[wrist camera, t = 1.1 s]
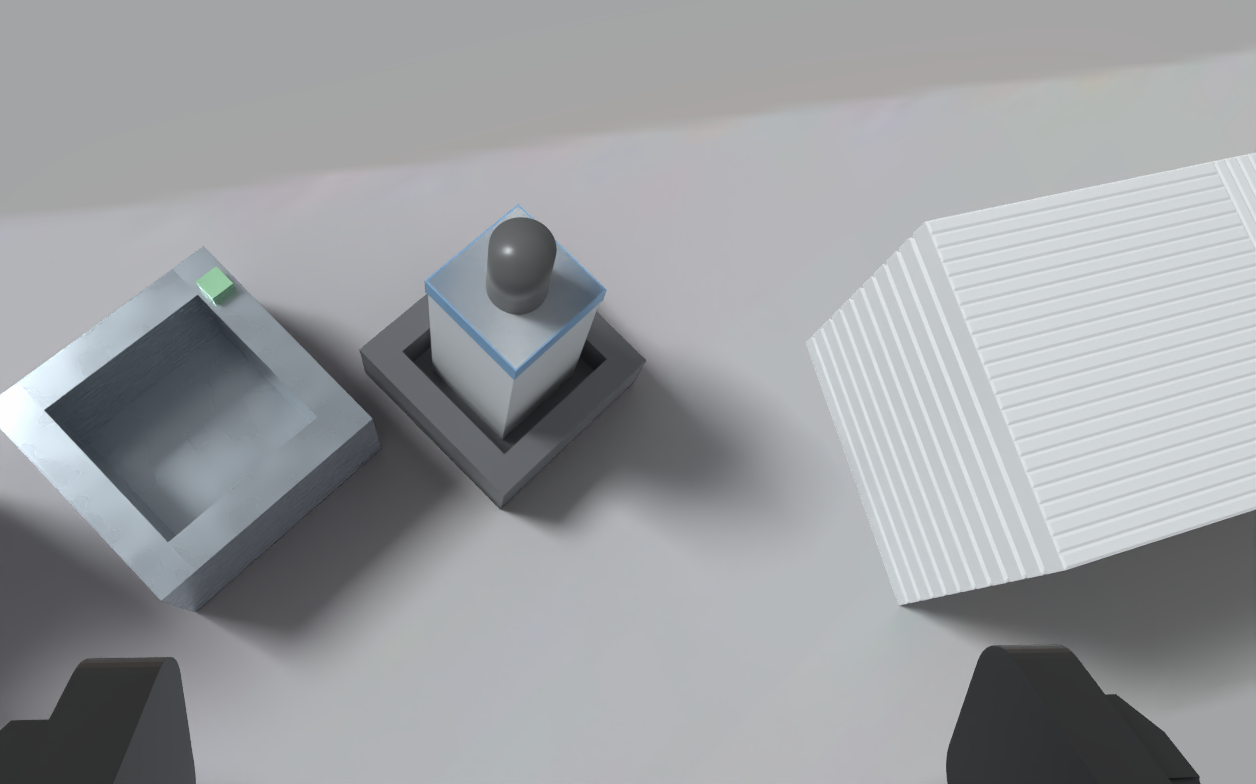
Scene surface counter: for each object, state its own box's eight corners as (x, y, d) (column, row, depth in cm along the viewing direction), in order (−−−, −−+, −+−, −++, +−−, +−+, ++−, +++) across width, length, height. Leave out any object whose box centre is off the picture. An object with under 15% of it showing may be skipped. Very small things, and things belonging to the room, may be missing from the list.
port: (195, 612, 32) (157, 599, 28) (35, 441, 33) (-25, 404, 29) (381, 449, 35) (371, 415, 31) (229, 294, 36) (200, 240, 31)
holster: (500, 509, 35) (503, 495, 32) (365, 372, 36) (359, 349, 33) (634, 382, 37) (646, 360, 35) (505, 255, 38) (508, 226, 35)
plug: (502, 441, 35) (521, 340, 25) (430, 369, 35) (421, 242, 25) (574, 374, 36) (620, 253, 26) (504, 305, 37) (523, 160, 27)
